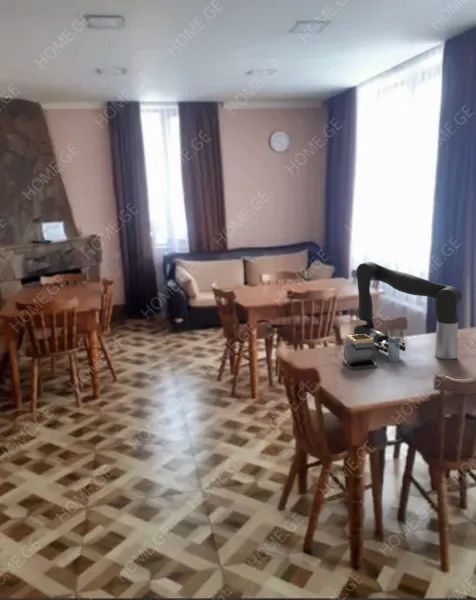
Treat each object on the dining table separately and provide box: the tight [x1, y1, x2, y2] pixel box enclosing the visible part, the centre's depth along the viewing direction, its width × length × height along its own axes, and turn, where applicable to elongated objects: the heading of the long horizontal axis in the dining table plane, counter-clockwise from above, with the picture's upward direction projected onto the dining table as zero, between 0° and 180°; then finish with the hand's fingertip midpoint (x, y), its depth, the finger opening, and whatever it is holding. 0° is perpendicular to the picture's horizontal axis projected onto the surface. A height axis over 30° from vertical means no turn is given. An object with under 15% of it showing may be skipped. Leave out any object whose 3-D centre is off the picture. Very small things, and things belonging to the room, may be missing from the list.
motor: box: [342, 334, 378, 371], centre depth 229 cm, size 12×10×14 cm
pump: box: [387, 336, 402, 364], centre depth 233 cm, size 7×6×11 cm
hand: (396, 349), depth 232 cm, fingers open, 8 cm apart
